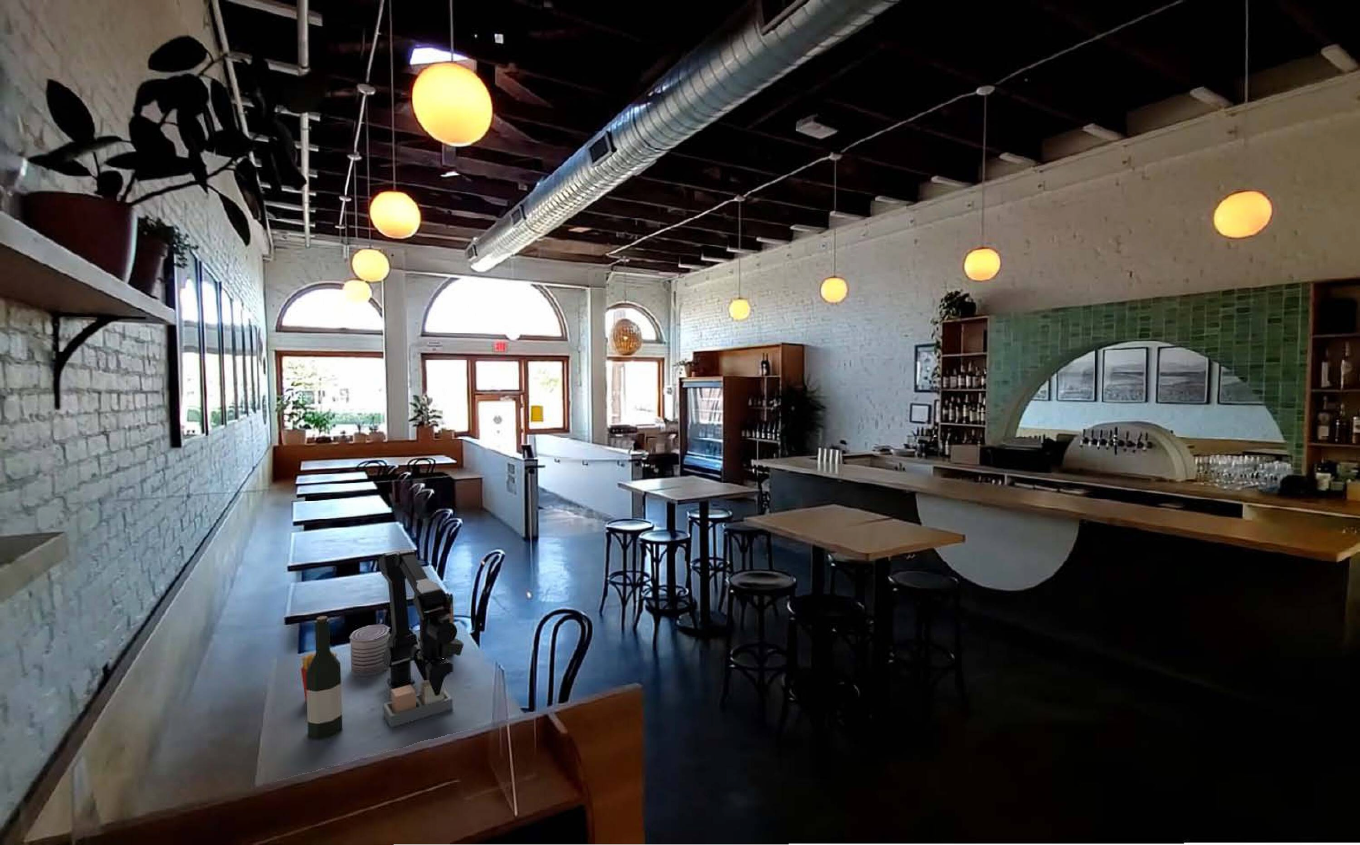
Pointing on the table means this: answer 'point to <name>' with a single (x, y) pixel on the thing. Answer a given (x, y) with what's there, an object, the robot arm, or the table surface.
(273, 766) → the table surface
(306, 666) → the french fries
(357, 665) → the can
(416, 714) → the pocket frame
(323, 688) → the wine bottle
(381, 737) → the table surface
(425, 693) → the ivory block
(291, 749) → the table surface
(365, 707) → the table surface
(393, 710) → the terracotta block
